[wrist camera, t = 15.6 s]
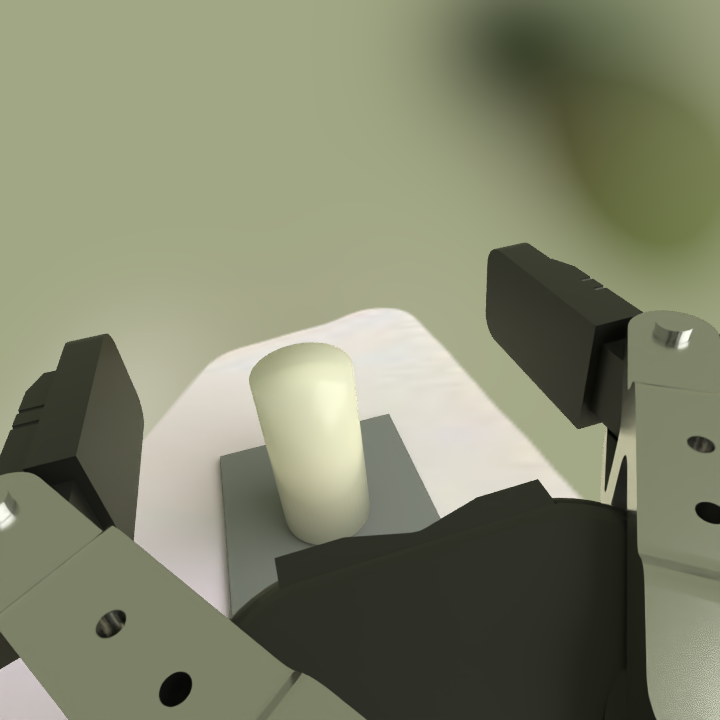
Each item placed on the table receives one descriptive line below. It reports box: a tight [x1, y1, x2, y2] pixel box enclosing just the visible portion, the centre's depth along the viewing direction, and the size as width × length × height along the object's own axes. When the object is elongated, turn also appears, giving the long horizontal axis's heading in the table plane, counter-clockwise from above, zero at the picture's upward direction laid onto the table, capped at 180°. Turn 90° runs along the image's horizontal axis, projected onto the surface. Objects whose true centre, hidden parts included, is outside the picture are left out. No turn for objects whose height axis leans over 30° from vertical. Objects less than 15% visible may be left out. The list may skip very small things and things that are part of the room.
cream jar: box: [249, 343, 370, 545], centre depth 29 cm, size 5×5×10 cm
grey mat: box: [220, 414, 440, 616], centre depth 32 cm, size 12×14×1 cm
